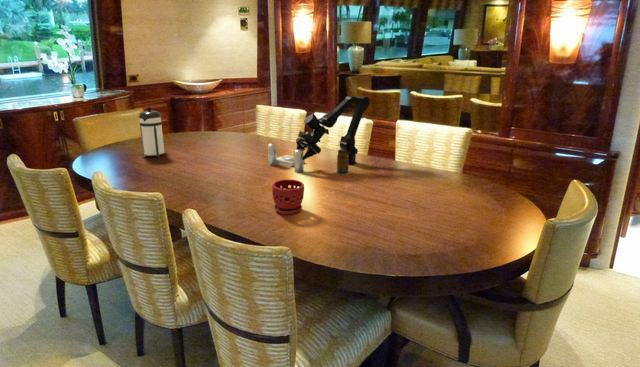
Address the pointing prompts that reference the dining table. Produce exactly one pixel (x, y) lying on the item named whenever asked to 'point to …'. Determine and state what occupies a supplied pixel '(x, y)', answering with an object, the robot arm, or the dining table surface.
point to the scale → (286, 160)
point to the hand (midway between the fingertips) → (298, 157)
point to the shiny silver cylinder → (299, 161)
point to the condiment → (342, 162)
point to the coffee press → (151, 133)
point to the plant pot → (288, 196)
